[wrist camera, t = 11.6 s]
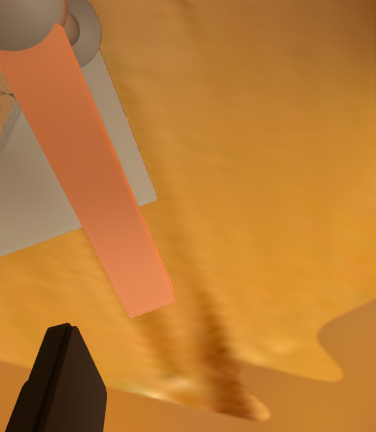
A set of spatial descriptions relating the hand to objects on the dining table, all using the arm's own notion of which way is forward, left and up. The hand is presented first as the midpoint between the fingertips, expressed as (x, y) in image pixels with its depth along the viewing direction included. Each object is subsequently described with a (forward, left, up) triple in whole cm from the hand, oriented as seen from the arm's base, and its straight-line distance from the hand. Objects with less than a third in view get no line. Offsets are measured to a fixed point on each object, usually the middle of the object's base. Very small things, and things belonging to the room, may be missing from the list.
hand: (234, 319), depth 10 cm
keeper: (-1, -6, -7) cm, 9 cm away
